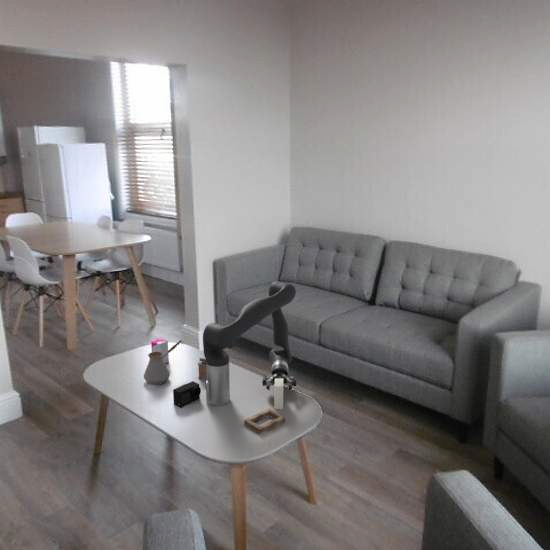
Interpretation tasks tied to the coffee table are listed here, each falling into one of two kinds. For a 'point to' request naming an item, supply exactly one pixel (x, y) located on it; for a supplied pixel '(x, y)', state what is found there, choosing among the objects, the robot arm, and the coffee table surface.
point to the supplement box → (161, 348)
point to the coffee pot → (157, 367)
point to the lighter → (202, 369)
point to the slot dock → (261, 429)
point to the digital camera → (186, 394)
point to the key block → (278, 394)
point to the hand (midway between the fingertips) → (279, 388)
